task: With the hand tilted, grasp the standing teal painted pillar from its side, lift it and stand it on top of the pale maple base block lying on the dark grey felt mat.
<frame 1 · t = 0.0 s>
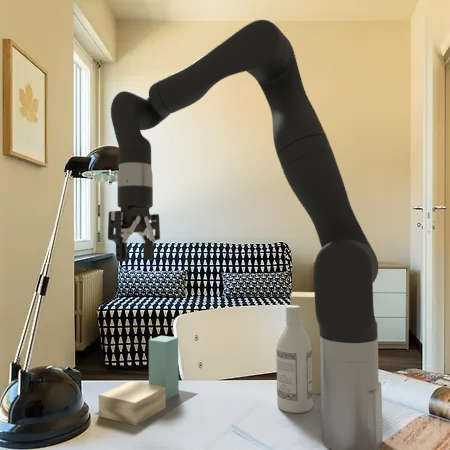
hand: (135, 260, 92), 29 cm above the table, tool pointing down, fingers open, 8 cm apart
base block: (132, 411, 83), resting on mat
bath foam: (294, 408, 85), on the table
pillar: (163, 395, 91), resting on mat
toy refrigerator: (308, 388, 96), on the table
mat: (149, 404, 87), on the table
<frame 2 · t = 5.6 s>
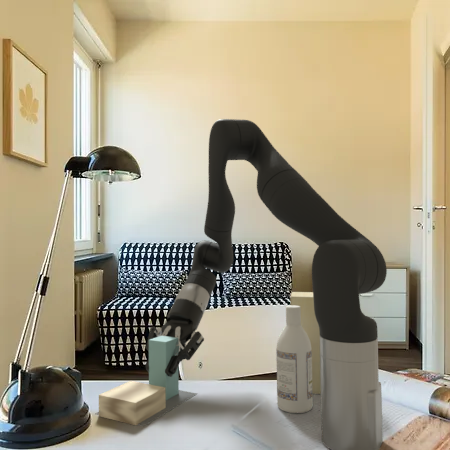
hand: (158, 372, 90), 6 cm above the table, tool tilted 45°, fingers closed on pillar, 4 cm apart
pillar: (163, 395, 91), resting on mat, touching gripper
everything else where it was.
when the fingers open (11 cm above the table, at t = 10.5 s): pillar drops 1 cm, resting on base block.
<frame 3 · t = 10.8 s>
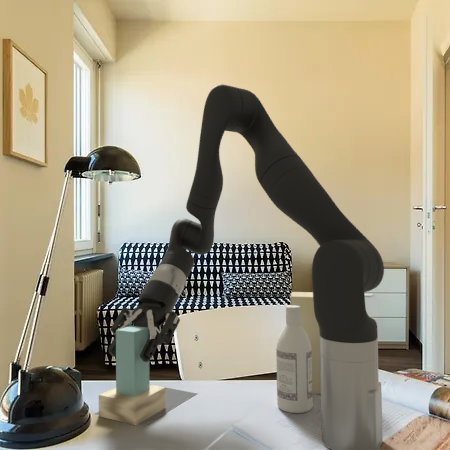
hand: (127, 357, 82), 11 cm above the table, tool tilted 45°, fingers open, 7 cm apart
base block: (132, 411, 83), resting on mat, touching pillar
pillar: (133, 390, 83), point 4 cm above the table, touching base block
everything else where it was.
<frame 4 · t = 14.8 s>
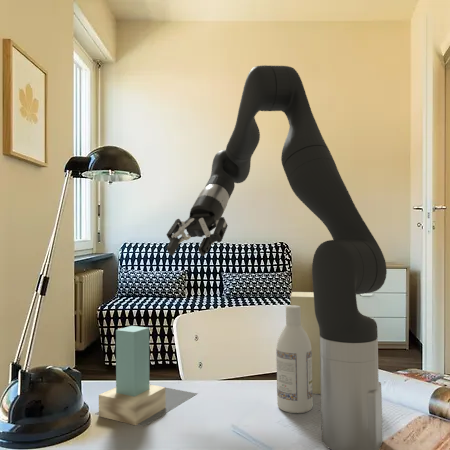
hand: (185, 252, 96), 31 cm above the table, tool tilted 45°, fingers open, 8 cm apart
nothing on the table moved.
at the end: pillar inside the target area on the base block (0.1 cm from its centre), point 4.0 cm above the base block's base; pillar tilted 0°; the gripper is holding nothing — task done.
